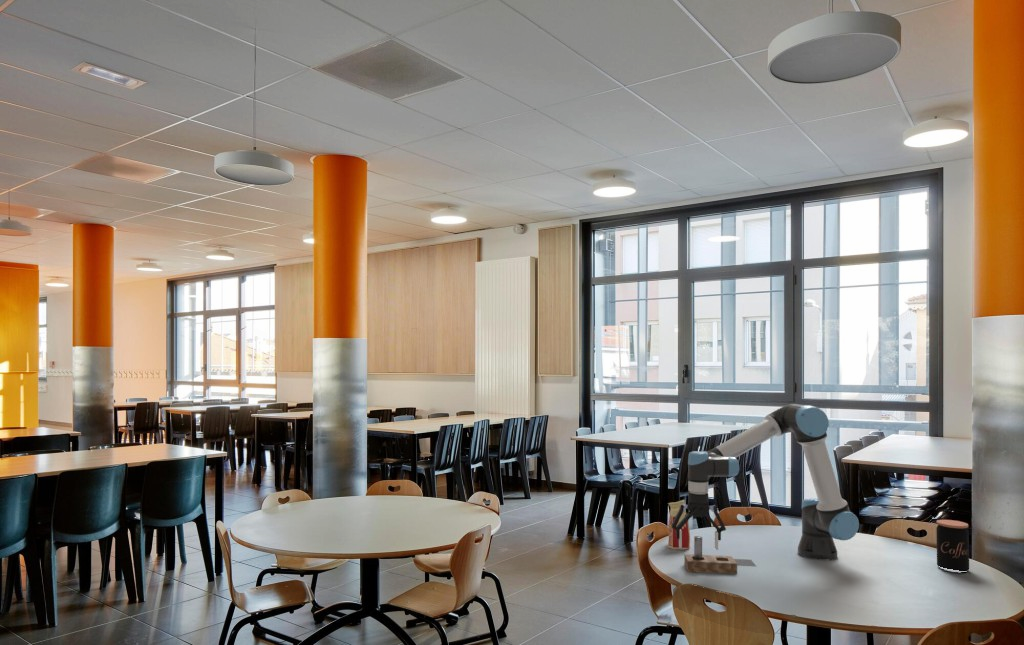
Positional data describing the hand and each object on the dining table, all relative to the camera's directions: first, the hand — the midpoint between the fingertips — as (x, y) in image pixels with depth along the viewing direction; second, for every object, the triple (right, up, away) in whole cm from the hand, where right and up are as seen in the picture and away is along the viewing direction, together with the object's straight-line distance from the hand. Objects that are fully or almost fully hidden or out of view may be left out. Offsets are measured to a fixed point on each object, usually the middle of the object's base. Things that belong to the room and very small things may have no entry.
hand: (698, 548), depth 266 cm
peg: (0, -8, 0) cm, 8 cm away
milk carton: (0, -10, +31) cm, 32 cm away
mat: (+19, -9, +8) cm, 22 cm away
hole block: (+4, -8, -1) cm, 9 cm away
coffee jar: (+100, -10, +4) cm, 101 cm away
